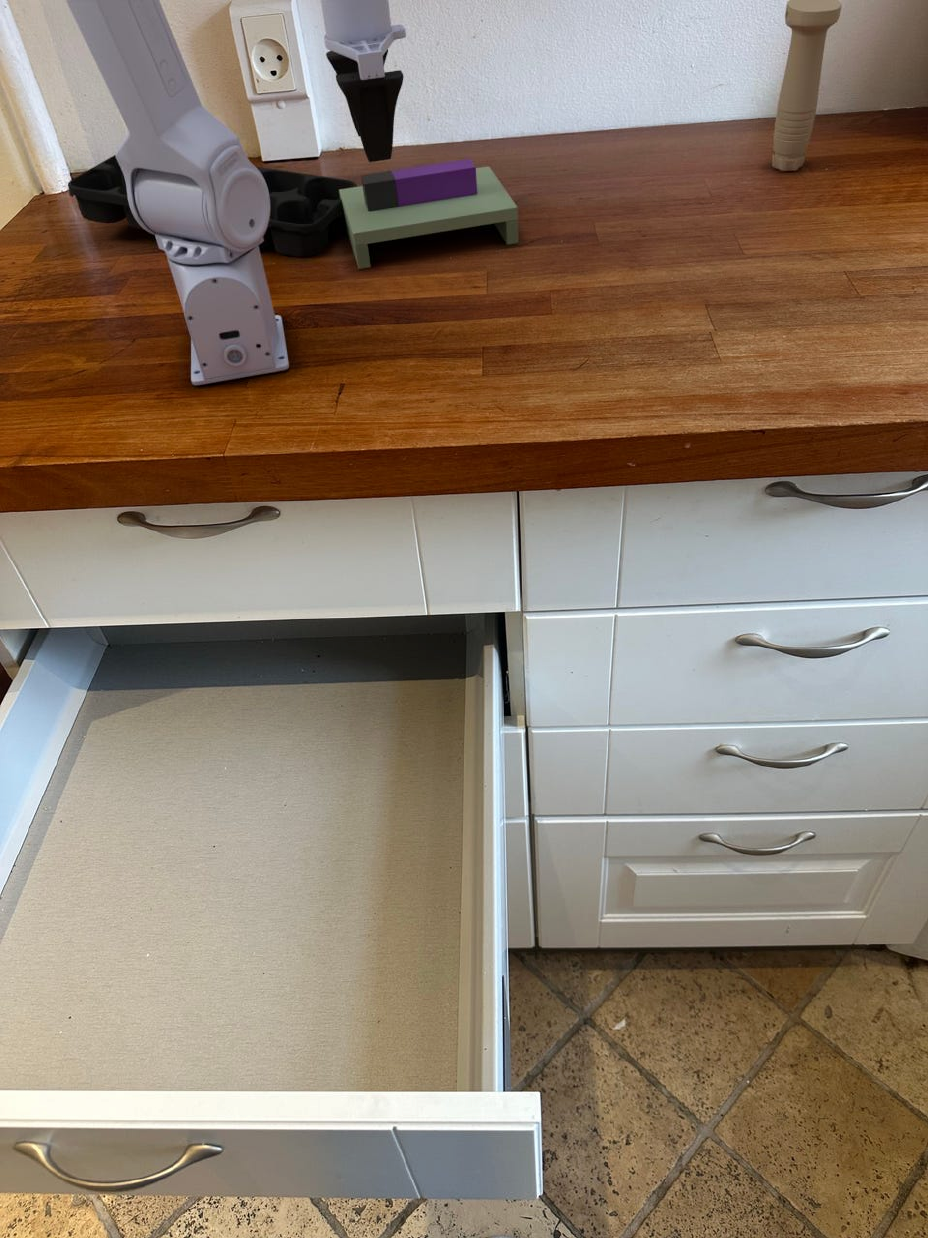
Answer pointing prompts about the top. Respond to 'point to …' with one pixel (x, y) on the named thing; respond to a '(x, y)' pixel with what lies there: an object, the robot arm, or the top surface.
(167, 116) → the robot arm
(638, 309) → the top surface
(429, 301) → the top surface
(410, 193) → the marker
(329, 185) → the egg carton
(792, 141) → the handle
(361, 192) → the shelf
